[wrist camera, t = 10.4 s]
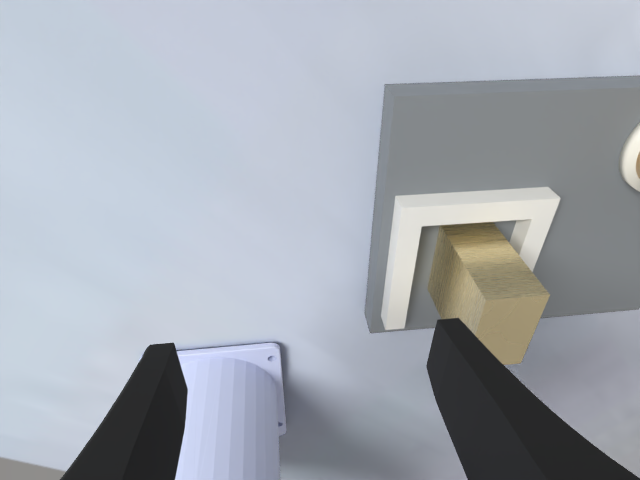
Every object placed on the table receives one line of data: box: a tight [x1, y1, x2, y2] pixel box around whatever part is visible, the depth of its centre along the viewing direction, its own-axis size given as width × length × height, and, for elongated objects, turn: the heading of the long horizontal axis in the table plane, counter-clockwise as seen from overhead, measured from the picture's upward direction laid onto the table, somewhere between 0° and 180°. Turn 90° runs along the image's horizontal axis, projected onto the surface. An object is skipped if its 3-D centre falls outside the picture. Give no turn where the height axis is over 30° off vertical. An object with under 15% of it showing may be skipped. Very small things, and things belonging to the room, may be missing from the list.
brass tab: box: [427, 222, 550, 365], centre depth 19 cm, size 4×2×5 cm, turn 0°
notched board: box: [365, 76, 640, 333], centre depth 21 cm, size 13×16×2 cm
